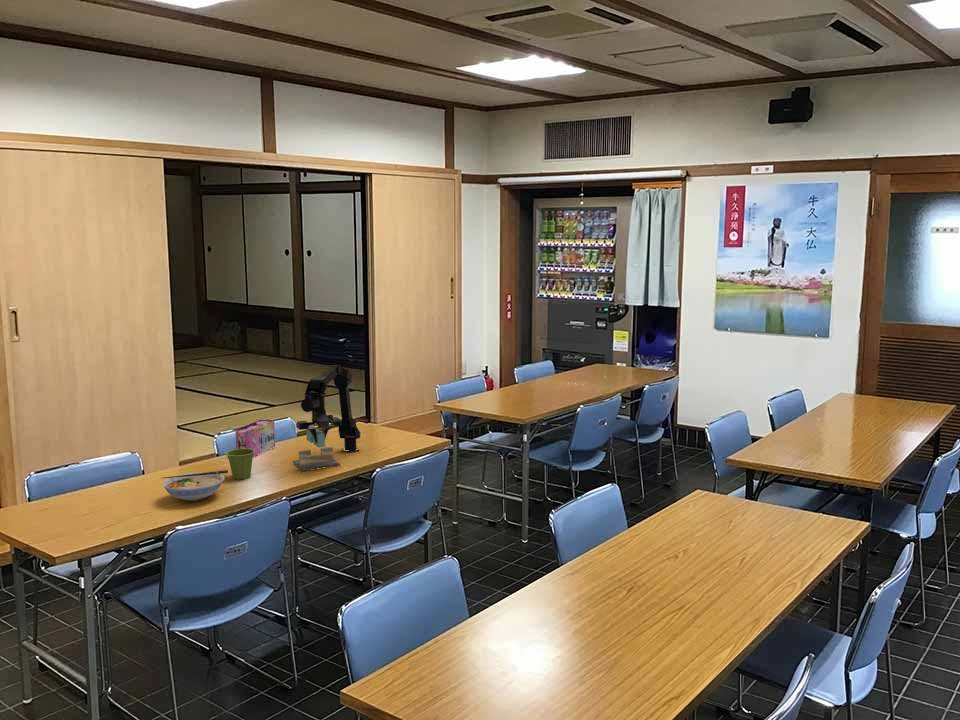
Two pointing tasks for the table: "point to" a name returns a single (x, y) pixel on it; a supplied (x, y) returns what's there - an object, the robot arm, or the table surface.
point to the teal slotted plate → (320, 438)
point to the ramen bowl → (194, 485)
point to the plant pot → (240, 462)
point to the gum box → (256, 436)
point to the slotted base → (316, 465)
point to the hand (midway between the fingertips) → (319, 442)
